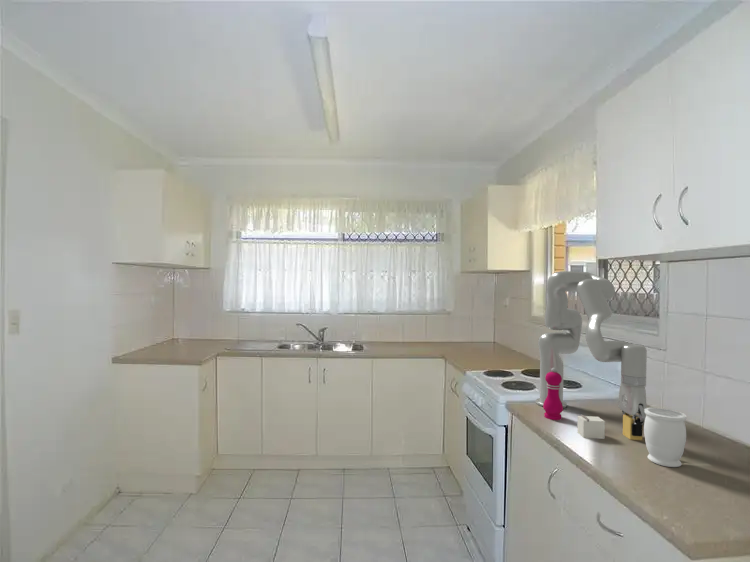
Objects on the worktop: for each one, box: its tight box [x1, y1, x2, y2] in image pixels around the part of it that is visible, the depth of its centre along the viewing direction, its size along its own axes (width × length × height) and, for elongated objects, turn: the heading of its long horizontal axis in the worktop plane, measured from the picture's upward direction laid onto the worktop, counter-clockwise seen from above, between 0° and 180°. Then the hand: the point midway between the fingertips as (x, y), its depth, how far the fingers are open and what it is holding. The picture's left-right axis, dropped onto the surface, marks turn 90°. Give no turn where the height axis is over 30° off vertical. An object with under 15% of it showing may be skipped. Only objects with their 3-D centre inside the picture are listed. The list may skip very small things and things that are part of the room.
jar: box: [643, 407, 687, 468], centre depth 129 cm, size 11×10×15 cm
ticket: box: [577, 414, 606, 440], centre depth 149 cm, size 5×7×6 cm
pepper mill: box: [542, 368, 564, 421], centre depth 168 cm, size 7×7×20 cm
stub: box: [622, 414, 644, 441], centre depth 148 cm, size 5×4×7 cm
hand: (632, 432), depth 148 cm, fingers closed on stub, 5 cm apart
